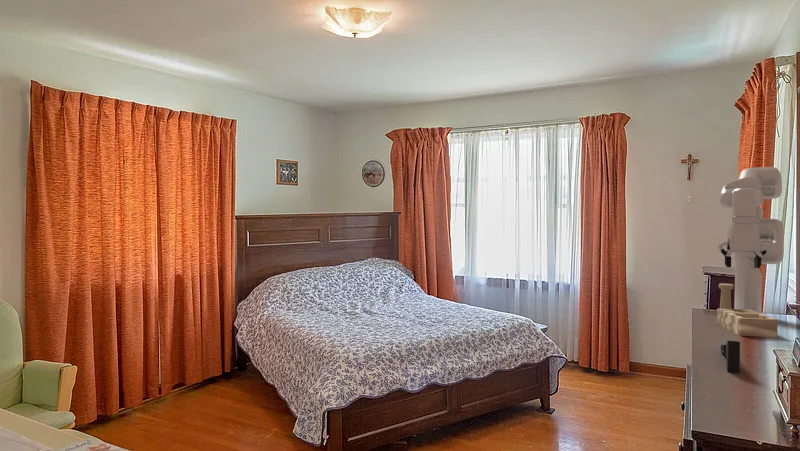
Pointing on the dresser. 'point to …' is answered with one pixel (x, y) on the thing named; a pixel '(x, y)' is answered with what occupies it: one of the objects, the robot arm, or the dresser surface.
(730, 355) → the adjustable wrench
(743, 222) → the robot arm
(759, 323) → the socket block
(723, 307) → the handle
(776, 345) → the dresser surface
